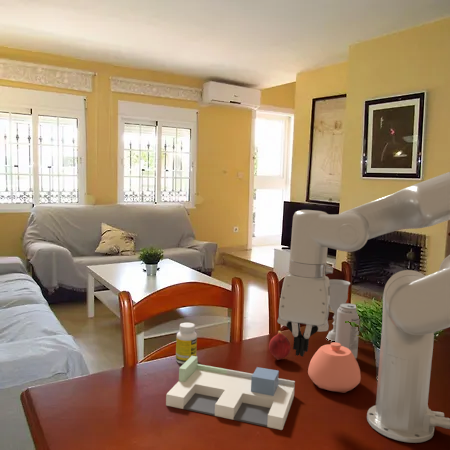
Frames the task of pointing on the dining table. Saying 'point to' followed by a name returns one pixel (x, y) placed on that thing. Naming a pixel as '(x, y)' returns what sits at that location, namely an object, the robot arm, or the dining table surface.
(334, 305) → the chalice
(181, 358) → the supplement bottle
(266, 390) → the block
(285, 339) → the onion
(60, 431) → the dining table surface
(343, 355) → the sugar bowl
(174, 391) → the box
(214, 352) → the dining table surface
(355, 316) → the energy drink can
